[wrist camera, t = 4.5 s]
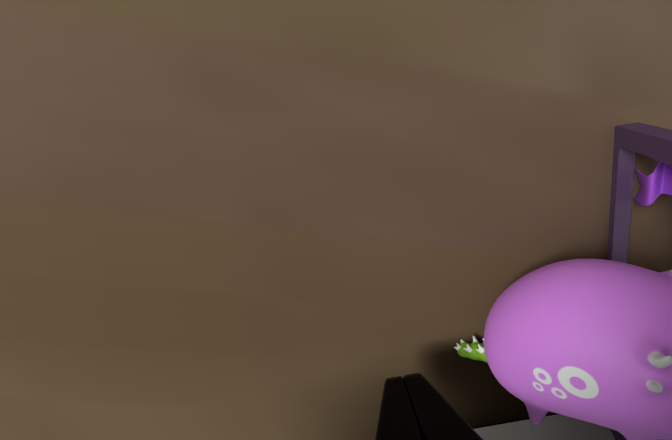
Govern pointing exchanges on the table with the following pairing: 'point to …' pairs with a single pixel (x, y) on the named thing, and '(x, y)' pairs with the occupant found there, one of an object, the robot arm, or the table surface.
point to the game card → (593, 319)
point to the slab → (547, 430)
